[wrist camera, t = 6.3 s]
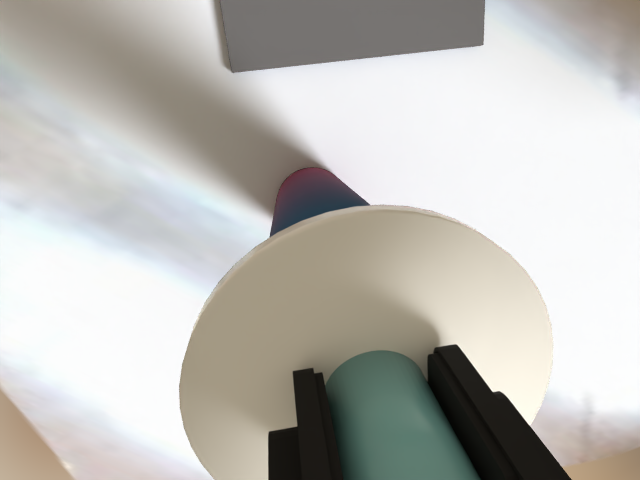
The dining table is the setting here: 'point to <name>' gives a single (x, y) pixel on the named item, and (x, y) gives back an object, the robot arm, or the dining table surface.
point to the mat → (344, 29)
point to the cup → (311, 197)
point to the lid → (361, 341)
